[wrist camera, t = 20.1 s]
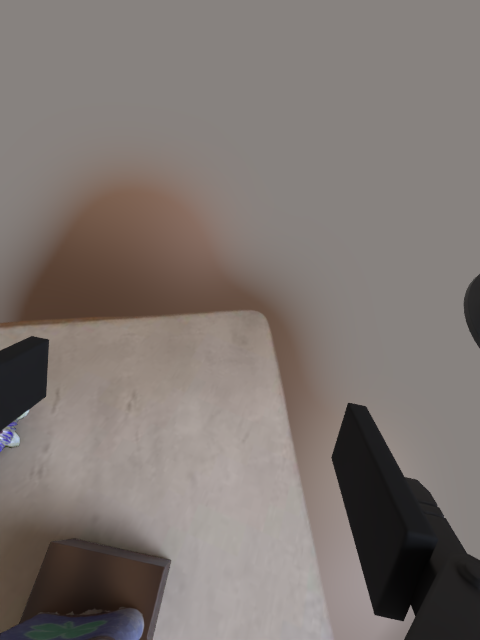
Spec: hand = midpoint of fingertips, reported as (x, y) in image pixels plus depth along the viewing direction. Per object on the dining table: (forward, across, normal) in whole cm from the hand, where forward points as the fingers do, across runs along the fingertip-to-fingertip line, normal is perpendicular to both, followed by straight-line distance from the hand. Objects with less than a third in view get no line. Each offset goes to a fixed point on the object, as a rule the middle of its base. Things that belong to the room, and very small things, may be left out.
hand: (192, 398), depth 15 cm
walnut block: (+10, -6, -29) cm, 31 cm away
